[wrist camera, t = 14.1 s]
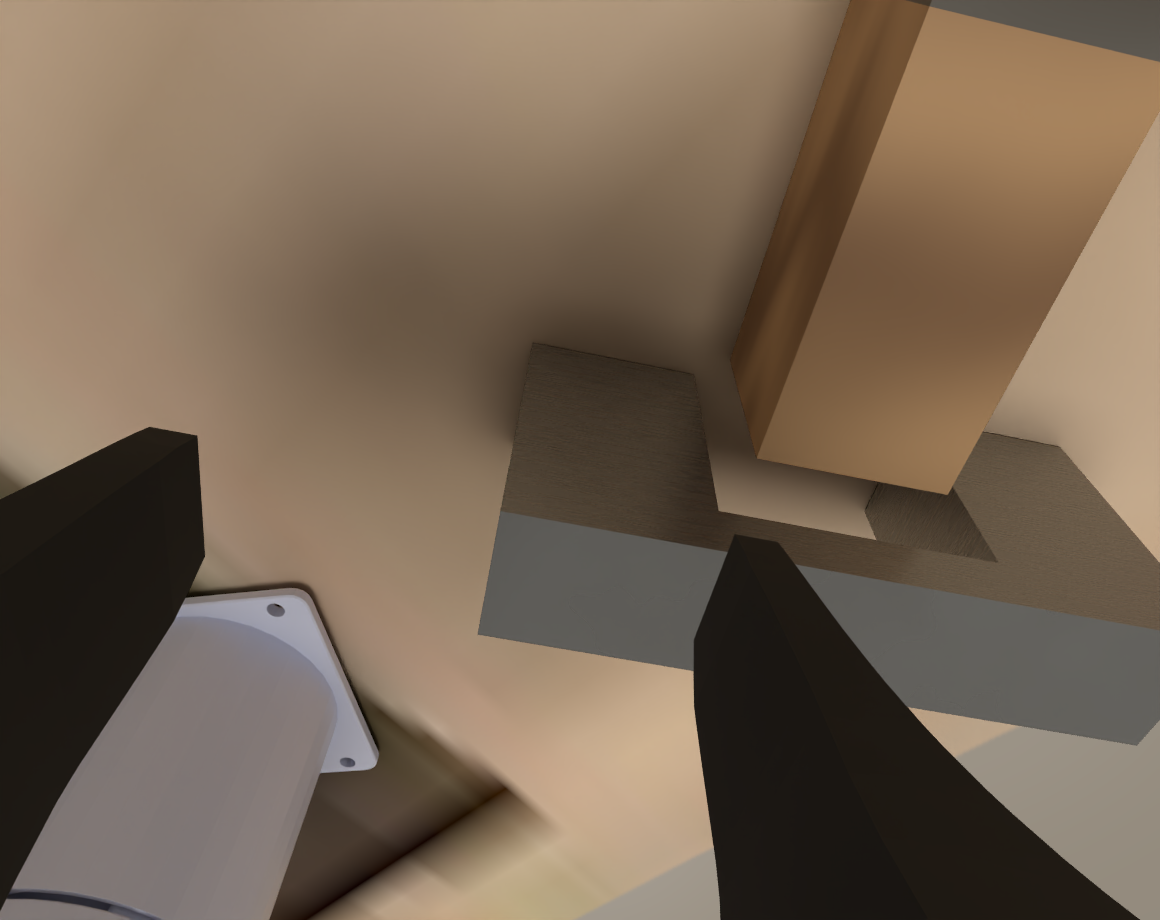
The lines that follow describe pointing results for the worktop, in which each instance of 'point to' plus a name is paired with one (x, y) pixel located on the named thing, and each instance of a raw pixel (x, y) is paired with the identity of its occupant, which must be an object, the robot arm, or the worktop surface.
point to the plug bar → (936, 224)
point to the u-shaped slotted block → (826, 559)
